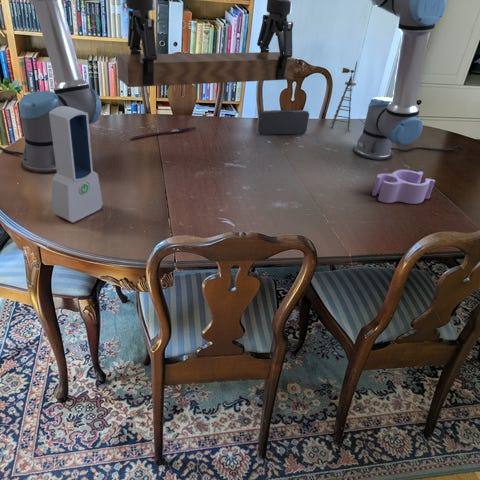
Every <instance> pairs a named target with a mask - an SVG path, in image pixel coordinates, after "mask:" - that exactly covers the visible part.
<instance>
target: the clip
mask: <svg viewBox="0 0 480 480" xmlns="http://www.w3.org/2000/svg"><path fill="white" fill-rule="evenodd" d="M423 175H424V171H420V170H419V171H414V170H412V169H411V170H410V169H397V170H394V171H393V172H392V173H379V174H377V175H376V179H375V182H374V186H373V189H372V193H371V196H373V197H376V196H377V195H378V198H377V201H379V202H381V203H387V204H392V203H395V202H402V203H404V204H405V203H406V204H413V205H416V204H421V203H423V202H424V201H425V200H429V199H430V197H431V194H432V191H433V188H434V185H435V182H436V180H435V179H433V178H425V179H424V182H422V183H421V181H422V177H423Z"/></svg>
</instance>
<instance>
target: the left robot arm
mask: <svg viewBox="0 0 480 480" xmlns="http://www.w3.org/2000/svg"><path fill="white" fill-rule="evenodd" d="M27 1H28V2H29V3H31V4H32V5H33V7H34V10H35V14H36V17H37V21H38V24H39V27H40V31H41V35H42V38H43V41H44V45H45V48H46V53H47V55H48V59H49V62H50V65H51V69H52V72H53V76H54V79H55V82H56V83H55V86H54V88H53V91H51V90H42V91H41V90H37V91H32V92H29V93H26V94H24V95H23V96H22V97H21V98H20V100H19V103H18V104H19V116H20V119H21V126H22V132H23V137H24V148H23V152H21V151H13V150H8V149H6V148H3V147H2V146H0V150H1V151H2V152H4V153H6V154H11V155H17V156H22V158H21V159H22V160H21V161H22V166H23V168H24V169H25V170H27V171H29V172H33V173H39V174H46V173H57V170H56V162H55V155H54V147H53V140H52V132H51V124H50V117H49V112H50V111H52V110H53V109H55V108H57V107H60V106H67V107H71V108H74V109H77V110H80V111H83V112H86V113H88V120H89V125H92V124H95V123H97V122H98V121H99V119H100V117H101V115H102V101H101V97H100V96H99V94H98V93H97V91H96V90H95V89H93V88H91V87H90V83H89V82H87V81H86V80H84V78H83V76H82V72H81V68H80V64H79V61H78V57H77V52H76V49H75V46H74V42H73V38H72V35H71V31H70V27H69V23H68V20H67V16H66V13H65V7H64V5H63V0H27ZM125 5H126V8H127V9H129V10H128V29H127V30H128V31H127V32H128V33H127V47H129V50H130V55H133V54H142V53H143V54H144V58H143V59H142V61H143V85H154V64H153V61H154V60H157V54H158V53H157V44H156V33H155V19H154V18H150V17H151V16H150V11H154V10H155V9H156V0H125ZM141 51H142V52H141Z"/></svg>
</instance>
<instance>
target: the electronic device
mask: <svg viewBox="0 0 480 480" xmlns="http://www.w3.org/2000/svg"><path fill="white" fill-rule="evenodd" d="M49 117H50V124H51V132H52V140H53V147H54V155H55V162H56V170H57V171H56V172H55V174H54V175H53V177H52V180H51V209H52V212H53V214H55V215H57V216H58V217H60V218H62V219H64V220H66V221H68V222H69V223H72V224H73V223H75V222H77V221H79V220H81V219H84V218H85V217H88V216H89V215H92V214H93V213H96V212H98V211H100V210H101V209H102V207H103V204H104V202H103V196H102V191H101V186H100V181H99V180H100V178H99V174H98V172H96V171H94V169H93V168H94V166H93V157H92V145H91V132H90V124H89V120H88V113H86V112H83V111H80V110H77V109H74V108H71V107H67V106H60V107H57V108H55V109H53V110H52V111H50V112H49Z"/></svg>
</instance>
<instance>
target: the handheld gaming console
mask: <svg viewBox="0 0 480 480" xmlns="http://www.w3.org/2000/svg"><path fill="white" fill-rule="evenodd" d="M258 114H259V115H258V123H257V132H258V133H259V135H265V136H266V135H293V134H294V135H297V134H298V135H300V134H305V133H306V132H307V130H308V123H309V118H310V113H309V111H308V110H303V109H301V110H299V109H284V110H283V109H281V110H273V109H272V110H271V109H270V110H262V111H260V112H259V113H258Z"/></svg>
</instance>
